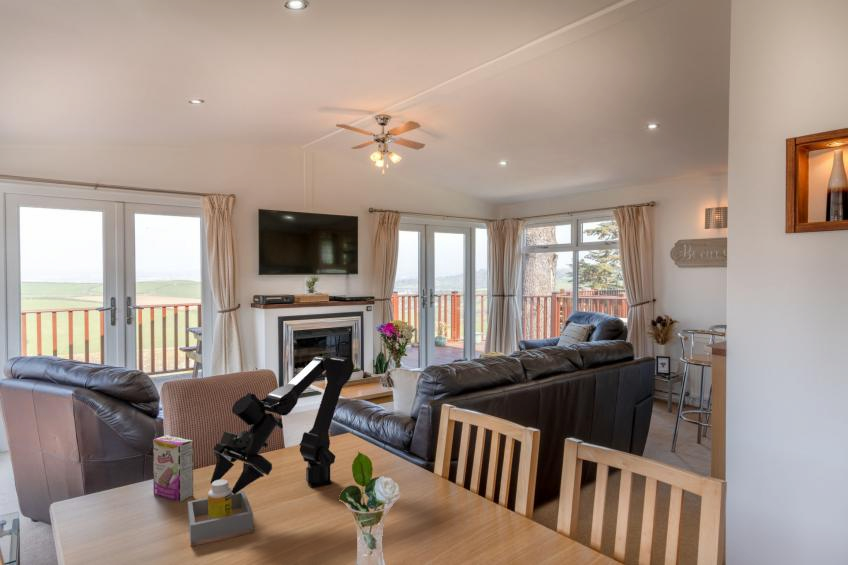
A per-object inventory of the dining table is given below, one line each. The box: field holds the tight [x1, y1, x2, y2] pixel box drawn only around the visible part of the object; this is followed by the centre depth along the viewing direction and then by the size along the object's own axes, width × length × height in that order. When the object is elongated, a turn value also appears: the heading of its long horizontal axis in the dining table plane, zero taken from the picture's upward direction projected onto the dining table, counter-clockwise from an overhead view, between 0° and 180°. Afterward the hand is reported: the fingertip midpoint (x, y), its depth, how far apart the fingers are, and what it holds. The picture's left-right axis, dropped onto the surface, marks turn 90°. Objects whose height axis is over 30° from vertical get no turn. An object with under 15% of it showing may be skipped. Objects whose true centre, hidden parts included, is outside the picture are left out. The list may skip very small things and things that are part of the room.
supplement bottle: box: [207, 478, 233, 520], centre depth 129 cm, size 6×6×10 cm
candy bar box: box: [152, 434, 194, 503], centre depth 146 cm, size 11×5×16 cm, turn 65°
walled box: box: [187, 490, 254, 547], centre depth 129 cm, size 14×14×5 cm
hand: (222, 488), depth 129 cm, fingers open, 9 cm apart
